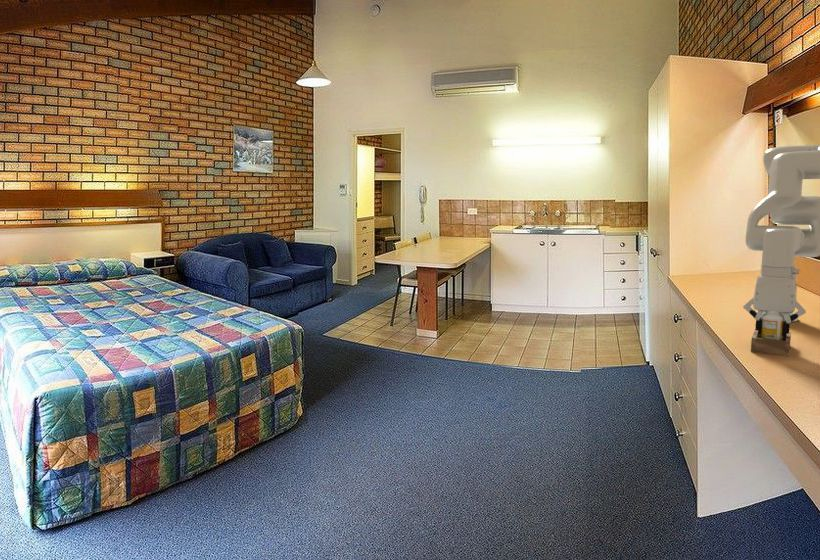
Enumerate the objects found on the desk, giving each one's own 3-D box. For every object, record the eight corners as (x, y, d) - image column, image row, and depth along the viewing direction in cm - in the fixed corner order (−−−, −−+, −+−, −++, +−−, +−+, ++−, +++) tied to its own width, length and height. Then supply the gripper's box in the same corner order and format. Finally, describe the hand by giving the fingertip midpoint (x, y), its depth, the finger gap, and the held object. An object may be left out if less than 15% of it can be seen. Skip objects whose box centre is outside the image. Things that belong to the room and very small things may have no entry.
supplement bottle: (774, 337, 163) (776, 305, 162) (787, 342, 158) (789, 309, 156) (756, 338, 163) (758, 305, 162) (768, 343, 158) (770, 309, 156)
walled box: (754, 341, 168) (755, 328, 168) (790, 345, 163) (791, 332, 162) (750, 351, 159) (751, 337, 158) (788, 356, 153) (789, 342, 153)
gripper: (813, 272, 155) (808, 335, 158) (742, 268, 165) (738, 328, 168) (814, 276, 149) (808, 341, 152) (740, 272, 159) (736, 333, 162)
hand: (771, 333), depth 160 cm, fingers closed on supplement bottle, 5 cm apart
